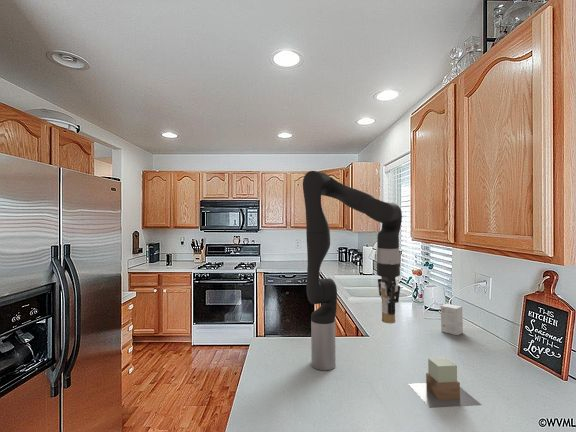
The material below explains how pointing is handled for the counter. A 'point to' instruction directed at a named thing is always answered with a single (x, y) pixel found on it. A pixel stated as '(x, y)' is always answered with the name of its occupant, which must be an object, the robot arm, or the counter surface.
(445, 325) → the small box
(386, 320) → the sprinkles bottle
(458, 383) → the walnut base block
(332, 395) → the counter surface
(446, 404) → the slate board
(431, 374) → the sage top block
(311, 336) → the robot arm
